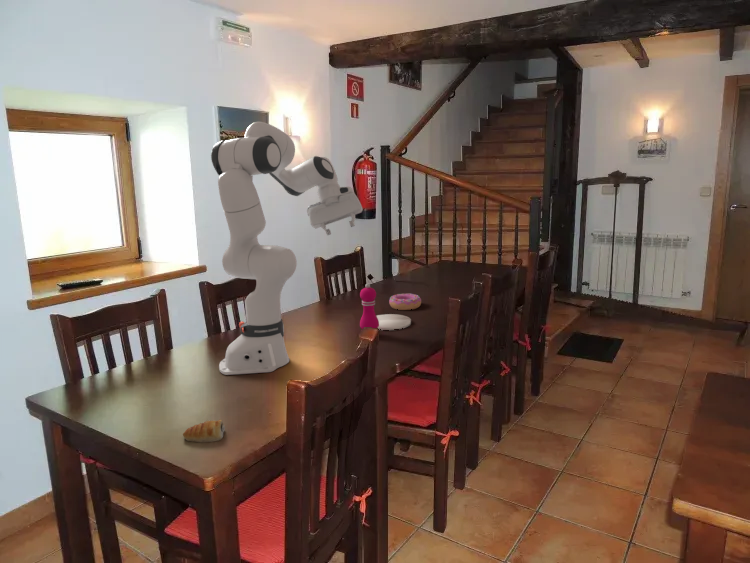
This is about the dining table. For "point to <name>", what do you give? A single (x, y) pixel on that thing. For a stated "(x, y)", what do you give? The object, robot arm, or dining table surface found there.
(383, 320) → the trivet
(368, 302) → the pepper mill
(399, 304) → the donut
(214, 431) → the pastry
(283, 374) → the dining table surface
